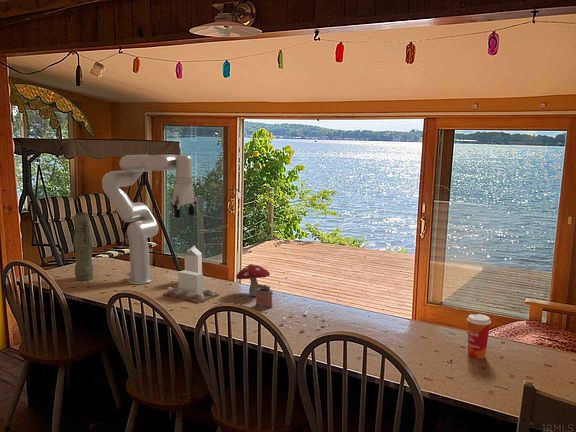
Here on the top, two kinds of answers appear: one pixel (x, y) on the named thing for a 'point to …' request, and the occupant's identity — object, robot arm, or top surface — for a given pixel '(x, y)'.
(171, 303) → the top surface
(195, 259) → the milk carton
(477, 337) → the paper cup
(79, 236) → the moai statue
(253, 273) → the decorative mushroom
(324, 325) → the game piece set
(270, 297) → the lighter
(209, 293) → the track board
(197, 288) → the door panel
